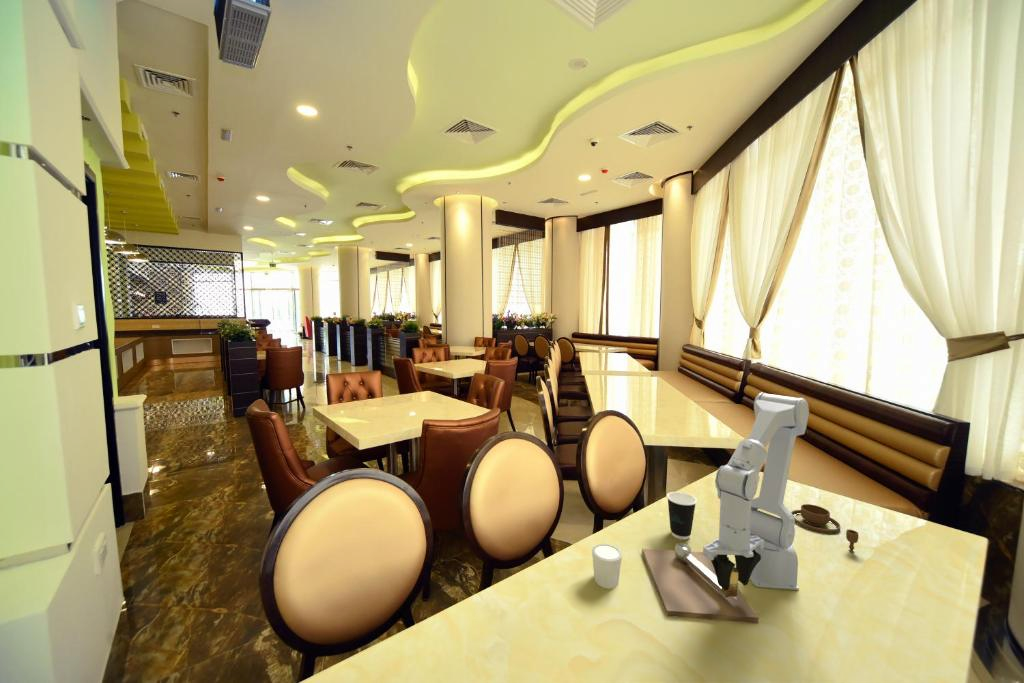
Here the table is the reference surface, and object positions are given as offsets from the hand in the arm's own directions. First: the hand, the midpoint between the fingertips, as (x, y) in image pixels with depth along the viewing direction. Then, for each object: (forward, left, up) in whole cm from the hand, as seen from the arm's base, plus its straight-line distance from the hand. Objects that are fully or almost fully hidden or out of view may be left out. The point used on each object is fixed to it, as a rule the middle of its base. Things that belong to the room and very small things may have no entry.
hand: (732, 584), depth 82 cm
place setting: (-40, -35, -6) cm, 53 cm away
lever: (+3, -7, -3) cm, 8 cm away
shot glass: (+26, -6, -5) cm, 27 cm away
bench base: (+6, -7, -5) cm, 10 cm away
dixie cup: (+2, -28, -5) cm, 28 cm away
